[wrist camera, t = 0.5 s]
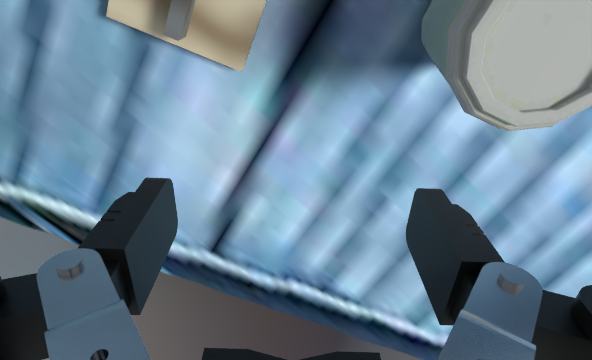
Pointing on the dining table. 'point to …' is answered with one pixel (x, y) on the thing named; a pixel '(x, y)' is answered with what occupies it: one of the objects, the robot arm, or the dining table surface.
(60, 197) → the dining table surface
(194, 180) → the dining table surface
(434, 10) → the disposable coffee cup
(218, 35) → the board
